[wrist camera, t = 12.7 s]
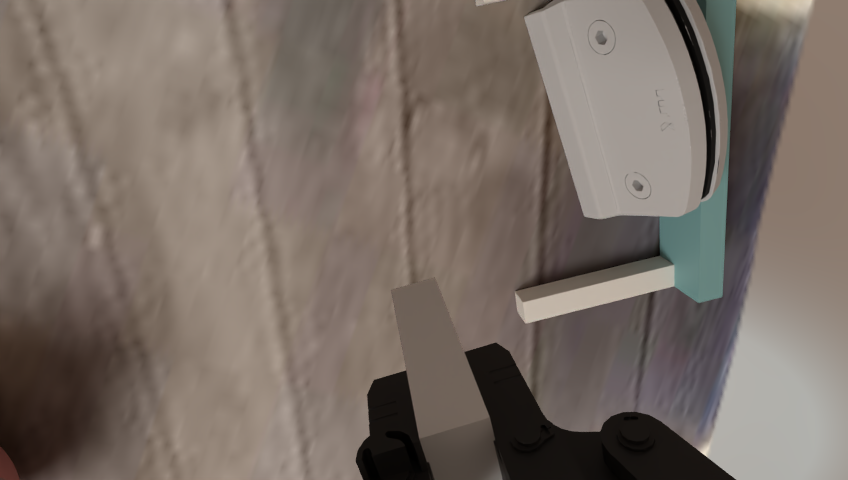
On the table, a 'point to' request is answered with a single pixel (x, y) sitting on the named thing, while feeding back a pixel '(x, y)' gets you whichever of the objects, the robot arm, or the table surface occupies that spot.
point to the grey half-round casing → (634, 102)
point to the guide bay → (679, 236)
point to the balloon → (7, 467)
